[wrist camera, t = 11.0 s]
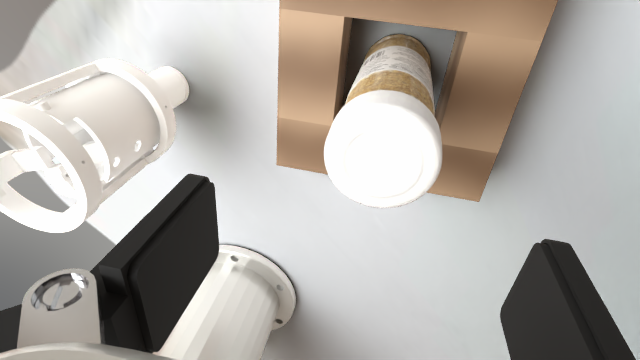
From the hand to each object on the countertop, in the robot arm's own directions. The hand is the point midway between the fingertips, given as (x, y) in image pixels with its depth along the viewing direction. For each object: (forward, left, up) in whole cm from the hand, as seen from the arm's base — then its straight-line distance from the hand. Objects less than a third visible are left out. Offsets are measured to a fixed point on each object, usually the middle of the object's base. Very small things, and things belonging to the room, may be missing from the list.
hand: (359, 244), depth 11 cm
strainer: (-3, +17, -18) cm, 25 cm away
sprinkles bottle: (0, 0, -18) cm, 18 cm away
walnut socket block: (+1, 0, -18) cm, 18 cm away
